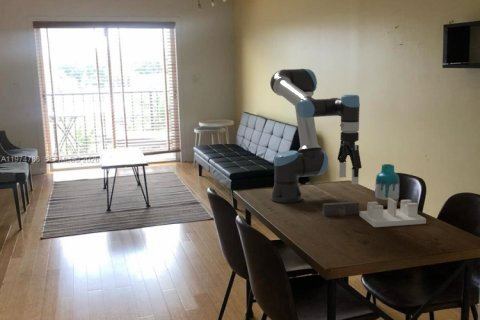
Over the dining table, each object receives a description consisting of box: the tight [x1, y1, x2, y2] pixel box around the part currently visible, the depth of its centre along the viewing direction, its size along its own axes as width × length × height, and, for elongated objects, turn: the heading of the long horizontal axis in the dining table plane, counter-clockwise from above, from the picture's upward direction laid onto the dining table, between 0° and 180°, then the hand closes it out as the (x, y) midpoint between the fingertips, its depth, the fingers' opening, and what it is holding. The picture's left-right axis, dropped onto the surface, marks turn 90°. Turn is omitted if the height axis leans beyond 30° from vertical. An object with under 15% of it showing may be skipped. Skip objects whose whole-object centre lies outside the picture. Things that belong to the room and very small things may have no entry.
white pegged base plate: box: [358, 198, 427, 228], centre depth 209 cm, size 16×22×8 cm
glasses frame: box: [322, 201, 360, 217], centre depth 218 cm, size 2×16×5 cm, turn 99°
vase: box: [374, 163, 400, 207], centre depth 228 cm, size 11×11×19 cm
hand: (348, 180), depth 215 cm, fingers open, 13 cm apart
